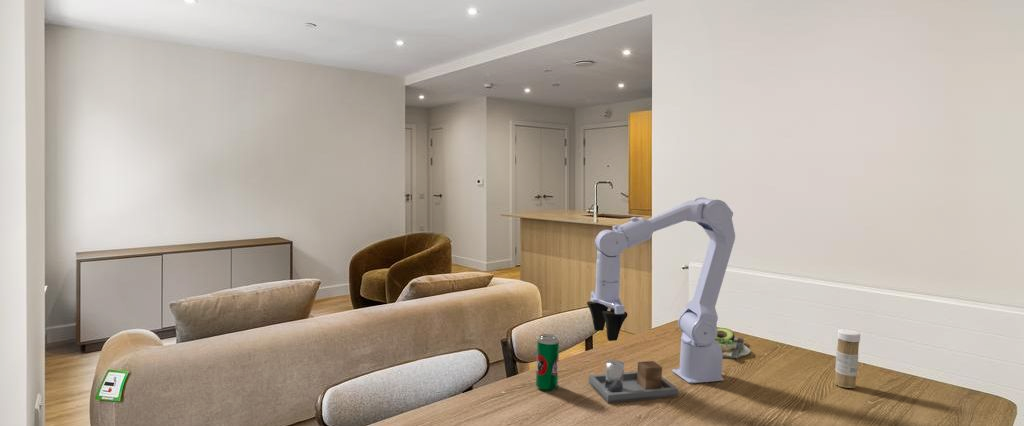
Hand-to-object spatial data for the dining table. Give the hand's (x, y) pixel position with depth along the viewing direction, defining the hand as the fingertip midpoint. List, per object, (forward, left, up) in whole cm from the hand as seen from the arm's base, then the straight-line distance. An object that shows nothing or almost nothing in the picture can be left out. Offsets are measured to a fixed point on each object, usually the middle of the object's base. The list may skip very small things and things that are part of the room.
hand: (605, 335), depth 127 cm
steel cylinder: (+1, +8, -10) cm, 13 cm away
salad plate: (-41, -14, -11) cm, 45 cm away
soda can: (+16, +3, -10) cm, 19 cm away
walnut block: (-8, +8, -10) cm, 15 cm away
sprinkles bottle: (-55, +16, -10) cm, 59 cm away
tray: (-3, +8, -10) cm, 14 cm away
